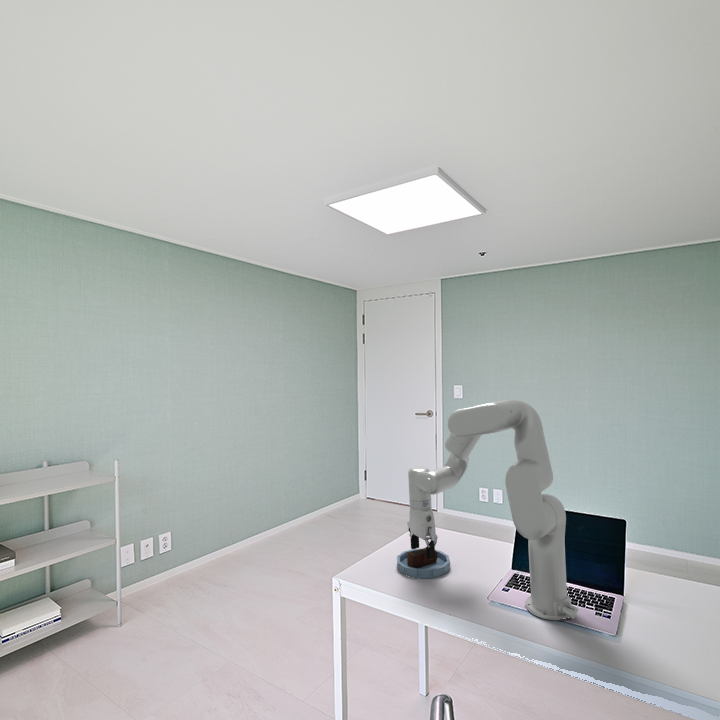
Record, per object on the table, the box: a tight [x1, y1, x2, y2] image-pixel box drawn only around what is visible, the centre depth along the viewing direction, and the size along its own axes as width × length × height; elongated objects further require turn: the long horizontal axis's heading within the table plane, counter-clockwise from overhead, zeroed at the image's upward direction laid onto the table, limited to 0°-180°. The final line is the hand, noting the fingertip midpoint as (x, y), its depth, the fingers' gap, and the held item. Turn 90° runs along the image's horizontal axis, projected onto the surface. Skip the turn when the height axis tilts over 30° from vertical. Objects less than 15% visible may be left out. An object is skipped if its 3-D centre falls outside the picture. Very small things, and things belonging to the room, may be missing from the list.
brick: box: [407, 547, 438, 569], centre depth 160 cm, size 11×4×5 cm, turn 122°
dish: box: [396, 548, 451, 580], centre depth 160 cm, size 18×18×3 cm
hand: (422, 553), depth 160 cm, fingers open, 9 cm apart
